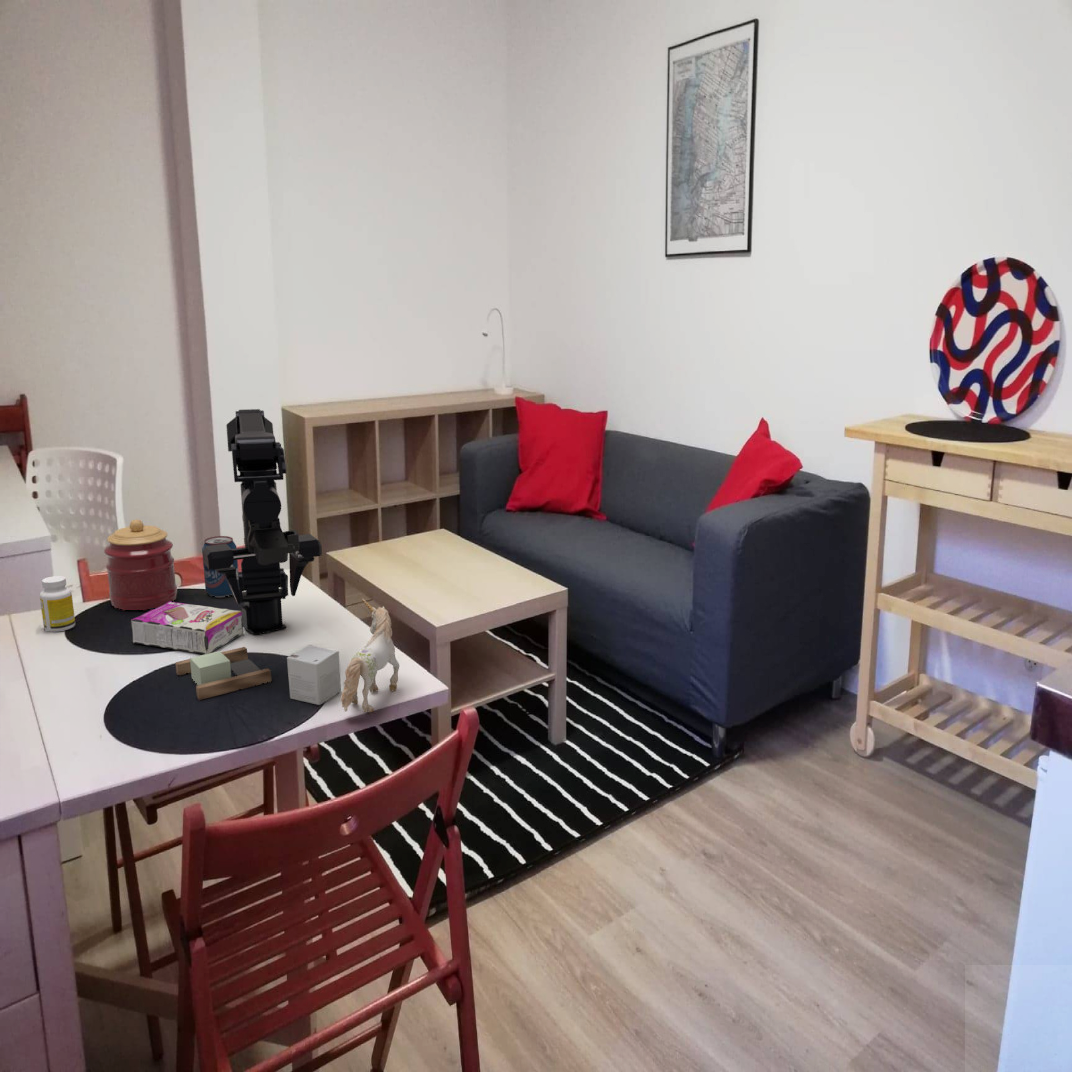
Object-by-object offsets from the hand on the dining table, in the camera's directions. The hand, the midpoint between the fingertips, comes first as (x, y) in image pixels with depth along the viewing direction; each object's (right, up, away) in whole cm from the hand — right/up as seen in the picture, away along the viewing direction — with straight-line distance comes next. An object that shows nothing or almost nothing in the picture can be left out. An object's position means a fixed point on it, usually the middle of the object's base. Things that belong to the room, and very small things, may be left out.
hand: (266, 599), depth 153 cm
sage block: (-8, -14, -2) cm, 16 cm away
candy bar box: (-27, -5, +16) cm, 32 cm away
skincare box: (+10, -15, -7) cm, 20 cm away
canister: (-35, -3, +33) cm, 49 cm away
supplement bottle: (-45, -7, +19) cm, 50 cm away
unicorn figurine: (+17, -15, -6) cm, 24 cm away
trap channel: (-7, -13, -1) cm, 15 cm away
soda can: (-21, -2, +39) cm, 44 cm away
